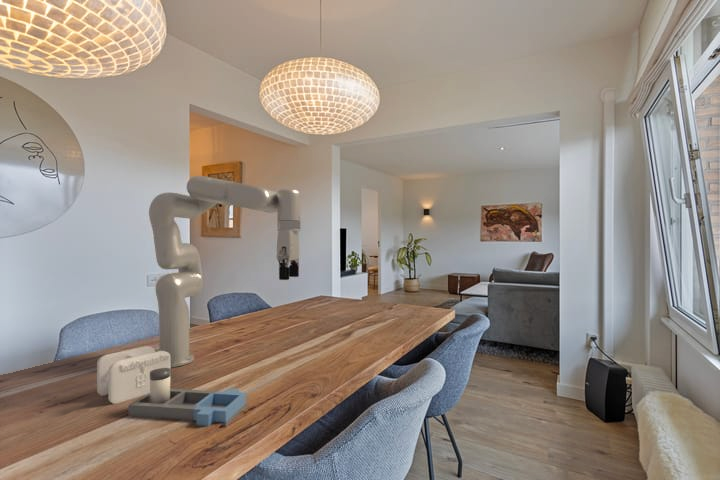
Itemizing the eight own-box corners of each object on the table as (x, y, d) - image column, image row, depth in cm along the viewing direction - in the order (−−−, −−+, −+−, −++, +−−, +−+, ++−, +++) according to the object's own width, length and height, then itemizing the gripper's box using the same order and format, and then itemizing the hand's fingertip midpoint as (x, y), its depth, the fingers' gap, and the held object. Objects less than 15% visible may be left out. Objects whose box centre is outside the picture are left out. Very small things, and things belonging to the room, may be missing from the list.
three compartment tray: (121, 423, 83) (121, 408, 83) (163, 397, 97) (163, 384, 97) (221, 431, 79) (221, 415, 79) (249, 403, 93) (249, 389, 93)
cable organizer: (155, 381, 108) (155, 343, 108) (171, 390, 102) (171, 349, 102) (96, 399, 96) (96, 356, 96) (110, 410, 90) (110, 364, 90)
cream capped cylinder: (145, 410, 87) (145, 373, 87) (158, 402, 92) (158, 367, 92) (162, 411, 86) (161, 374, 86) (174, 403, 91) (174, 368, 91)
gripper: (286, 227, 127) (287, 275, 127) (268, 225, 110) (268, 280, 109) (307, 227, 126) (307, 275, 126) (291, 225, 109) (291, 281, 108)
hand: (289, 278), depth 117 cm, fingers open, 9 cm apart
